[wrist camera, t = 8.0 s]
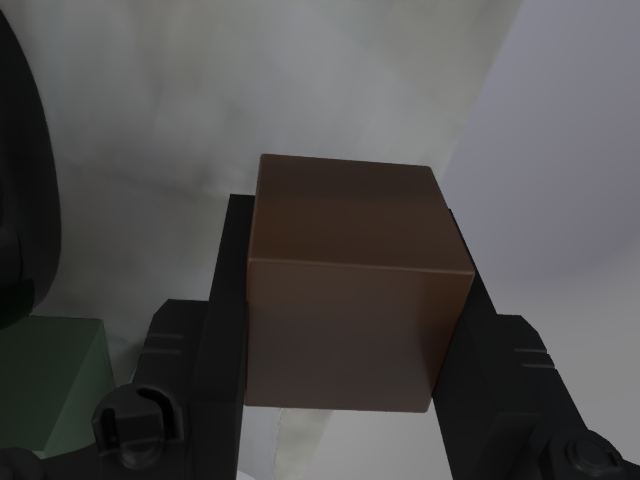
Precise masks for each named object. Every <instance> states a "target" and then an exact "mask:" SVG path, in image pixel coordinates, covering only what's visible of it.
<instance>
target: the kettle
mask: <svg viewBox="0 0 640 480" xmlns="http://www.w3.org/2000/svg"><path fill="white" fill-rule="evenodd" d="M60 251H61V215H60V202H59V194H58V186H57V177H56V170H55V164H54V158H53V153H52V147H51V142H50V136H49V131H48V127H47V122H46V118H45V114H44V110H43V106H42V103H41V99H40V96H39V92H38V89H37V86H36V83H35V81H34V78H33V75H32V73H31V70H30V67H29V65H28V63H27V60H26V58H25V56H24V53H23V51H22V49H21V47H20V44H19V42H18V40H17V38H16V36H15V34H14V32H13V30H12V28H11V27H10V25H9V23H8V21H7V19H6V18H5V16H4V14H3V13H2V11H1V10H0V330H2V329H5V328H7V327H10V326H12V325H14V324H15V323H17V322H19V321H20V320H22V319H23V318H25V317H26V316H27V315H28V314H30V313H31V312H32V311H33V310H34V309H35V308H36V307H37V306H38V305H39V304H40V303H41V302H42V301H43V299H44V298H45V297H46V295H47V293H48V292H49V290H50V288H51V285H52V283H53V281H54V278H55V275H56V272H57V269H58V264H59V258H60Z"/></svg>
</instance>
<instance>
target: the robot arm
mask: <svg viewBox="0 0 640 480" xmlns="http://www.w3.org/2000/svg"><path fill="white" fill-rule="evenodd" d="M254 201H255V196H254V195H239V194H230V198H229V203H228V208H227V213H226V218H225V223H224V228H223V233H222V238H221V243H220V247H219V252H218V257H217V262H216V267H215V272H214V277H213V282H212V287H211V292H210V296H209V301H197V300H177V299H168V300H167V301H166V302H165V303H164V304H163V305H162V306H161V307H160V308H159V310H158V311H157V312H156V313H155V314H154V315H153V318H152V321H151V324H150V327H149V330H148V333H147V338H146V340H145V343H144V346H143V349H142V353H141V355H140V358H139V361H138V365H137V368H136V371H135V374H134V377H133V380H132V383H130V384H126V385H122V386H120V387H119V388H117V389H115V390H114V391H112V392H110V393H109V394H107V395H106V396H105V397H104V398H103V400H102V401H101V402H100V403H99V404H98V405H97V407H96V408H95V411H94V414H93V417H92V420H91V424H92V428H93V432H94V436H95V440H96V442H94V443H92V444H91V445H89V446H86V447H84V448H81V449H78V450H75V451H72V452H68V453H64V454H60V455H56V456H53V457H49V458H45V459H40V458H39V457H38V456H36V455H35V454H34V453H33V452H32V451H31V450H27V449H22V448H18V447H10V448H2V449H0V480H236V477H237V467H238V457H239V447H240V437H241V427H242V417H243V407H244V397H245V376H246V338H247V301H246V273H247V255H248V247H249V239H250V232H251V224H252V217H253V209H254ZM449 211H450V214H451V216H452V218H453V221H454V223H455V225H456V228H457V230H458V232H459V235H460V237H461V239H462V242H463V244H464V246H465V249H466V251H467V253H468V256H469V258H470V260H471V263H472V265H473V267H474V269H475V276H474V279H473V282H472V285H471V288H470V291H469V293H468V296H467V299H466V302H465V305H464V308H463V311H462V313H461V316H460V319H459V322H458V325H457V327H456V330H455V333H454V336H453V339H452V342H451V345H450V348H449V350H448V353H447V356H446V359H445V362H444V365H443V368H442V370H441V373H440V376H439V379H438V382H437V385H436V388H435V390H434V393H433V396H432V398H433V402H434V406H435V410H436V414H437V418H438V422H439V426H440V430H441V434H442V438H443V442H444V446H445V450H446V454H447V458H448V462H449V466H450V470H451V474H452V477H453V480H640V466H639V465H636V464H633V463H631V462H628V461H626V460H624V459H623V458H622V456H621V454H620V453H619V452H618V451H617V450H616V449H615V447H614V446H613V445H612V444H611V443H610V442H609V441H607V440H606V439H605V438H603V437H602V436H600V435H599V434H597V433H596V432H594V431H591V430H588V428H587V427H586V425H585V423H584V421H583V420H582V418H581V416H580V414H579V412H578V410H577V408H576V406H575V404H574V402H573V400H572V398H571V396H570V394H569V392H568V390H567V389H566V387H565V384H564V383H563V381H562V379H561V377H560V375H559V373H558V371H557V369H555V366H554V363H553V361H552V359H551V357H550V355H549V354H547V349H546V347H545V345H544V344H543V342H542V340H541V338H540V336H539V334H538V332H537V331H536V330H535V329H534V328H533V327H532V326H531V325H530V324H529V323H528V322H527V321H526V320H525V319H524V318H523V317H522V316H521V315H503V314H497V313H496V310H495V308H494V306H493V304H492V301H491V299H490V297H489V295H488V292H487V290H486V288H485V286H484V283H483V281H482V279H481V277H480V274H479V272H478V270H477V267H476V265H475V263H474V261H473V259H472V256H471V254H470V252H469V249H468V247H467V245H466V243H465V240H464V238H463V236H462V234H461V231H460V229H459V227H458V225H457V222H456V220H455V218H454V216H453V213H452V211H451V209H449Z"/></svg>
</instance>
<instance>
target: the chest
mask: <svg viewBox="0 0 640 480" xmlns="http://www.w3.org/2000/svg"><path fill="white" fill-rule="evenodd" d="M114 390H115V386H114V381H113V375H112V370H111V365H110V359H109V354H108V349H107V343H106V338H105V333H104V327H103V322H102V320H94V319H75V318H56V317H37V316H26V317H25V318H23V319H22V320H20V321H19V322H17V323H15V324H14V325H12V326H10V327H7V328H5V329H2V330H0V449H2V448H10V447H18V448H22V449H27V450H31V451H32V452H33V453H34V454H35V455H36V456H38V457H39V458H40V459H45V458H49V457H53V456H56V455H60V454H64V453H68V452H72V451H75V450H78V449H81V448H84V447H86V446H89V445H91V444H92V443H94V442H96V440H95V436H94V432H93V428H92V424H91V420H92V417H93V414H94V411H95V408H96V407H97V405H98V404H99V403H100V402H101V401H102V400H103V398H104V397H105V396H106V395H107V394H109V393H110V392H112V391H114Z"/></svg>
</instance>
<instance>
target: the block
mask: <svg viewBox="0 0 640 480" xmlns="http://www.w3.org/2000/svg"><path fill="white" fill-rule="evenodd" d="M474 276H475V269H474V267H473V265H472V263H471V260H470V258H469V256H468V253H467V251H466V249H465V246H464V244H463V242H462V239H461V237H460V235H459V232H458V230H457V228H456V225H455V223H454V221H453V218H452V216H451V214H450V211H449V209H448V207H447V204H446V202H445V200H444V198H443V195H442V193H441V190H440V188H439V186H438V183H437V181H436V179H435V176H434V174H433V172H432V169H431V167H429V166H419V165H406V164H393V163H380V162H367V161H354V160H341V159H328V158H315V157H302V156H289V155H276V154H262V155H261V157H260V163H259V171H258V179H257V186H256V194H255V201H254V209H253V217H252V224H251V232H250V239H249V247H248V255H247V273H246V301H247V338H246V376H245V397H244V405H245V406H248V407H275V408H303V409H330V410H358V411H385V412H388V411H389V412H413V413H414V412H415V413H425V412H427V410H428V407H429V405H430V402H431V398H432V396H433V393H434V390H435V388H436V385H437V382H438V379H439V376H440V373H441V370H442V368H443V365H444V362H445V359H446V356H447V353H448V350H449V348H450V345H451V342H452V339H453V336H454V333H455V330H456V327H457V325H458V322H459V319H460V316H461V313H462V311H463V308H464V305H465V302H466V299H467V296H468V293H469V291H470V288H471V285H472V282H473V279H474Z"/></svg>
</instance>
